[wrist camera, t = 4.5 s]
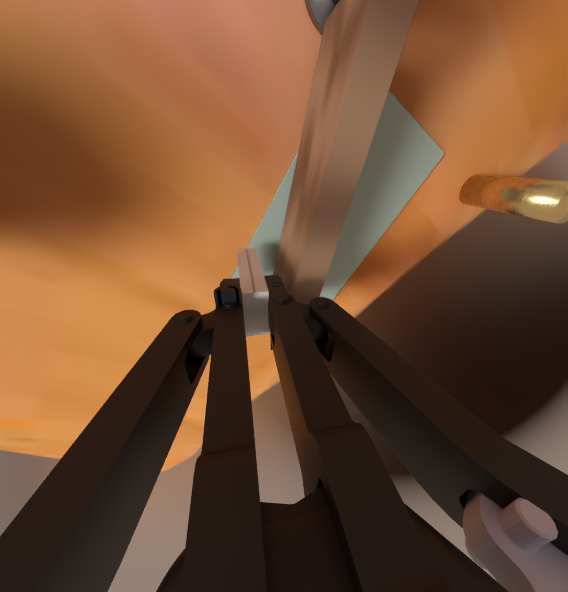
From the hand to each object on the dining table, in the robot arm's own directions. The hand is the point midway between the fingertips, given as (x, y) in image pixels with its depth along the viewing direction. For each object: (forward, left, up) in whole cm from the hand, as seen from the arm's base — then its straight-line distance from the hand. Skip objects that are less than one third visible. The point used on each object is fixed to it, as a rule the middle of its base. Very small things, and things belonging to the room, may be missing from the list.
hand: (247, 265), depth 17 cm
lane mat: (-4, +5, -2) cm, 7 cm away
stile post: (-14, +15, -2) cm, 21 cm away
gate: (-6, +1, -1) cm, 7 cm away
